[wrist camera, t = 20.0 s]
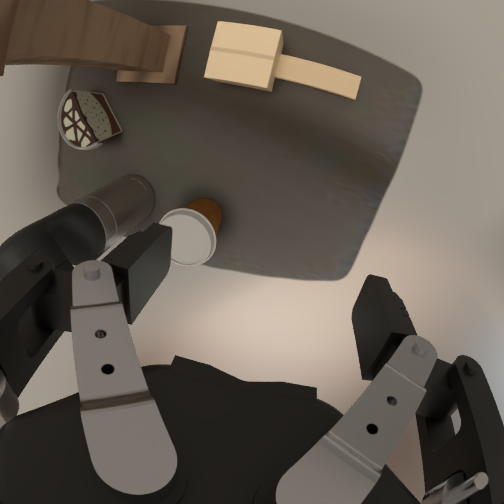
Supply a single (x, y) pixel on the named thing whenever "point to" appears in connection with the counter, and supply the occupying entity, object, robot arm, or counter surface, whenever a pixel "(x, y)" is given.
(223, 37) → the wooden mallet
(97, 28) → the walnut stand
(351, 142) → the counter surface
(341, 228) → the counter surface
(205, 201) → the disposable coffee cup
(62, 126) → the food container
